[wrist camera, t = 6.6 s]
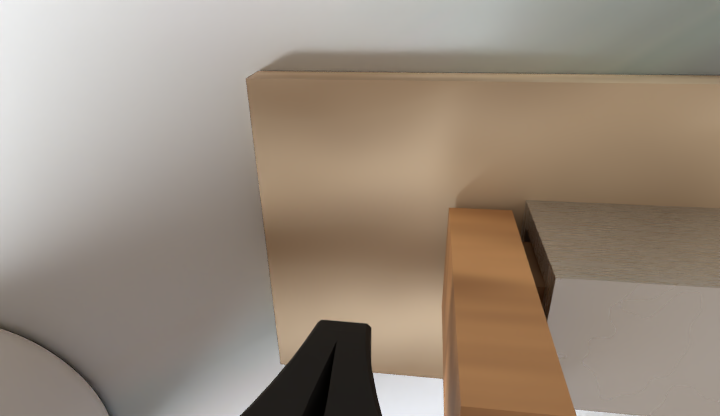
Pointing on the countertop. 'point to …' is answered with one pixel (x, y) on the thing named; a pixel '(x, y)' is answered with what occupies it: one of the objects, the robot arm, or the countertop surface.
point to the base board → (449, 179)
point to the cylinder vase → (41, 382)
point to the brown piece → (496, 323)
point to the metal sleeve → (632, 303)
